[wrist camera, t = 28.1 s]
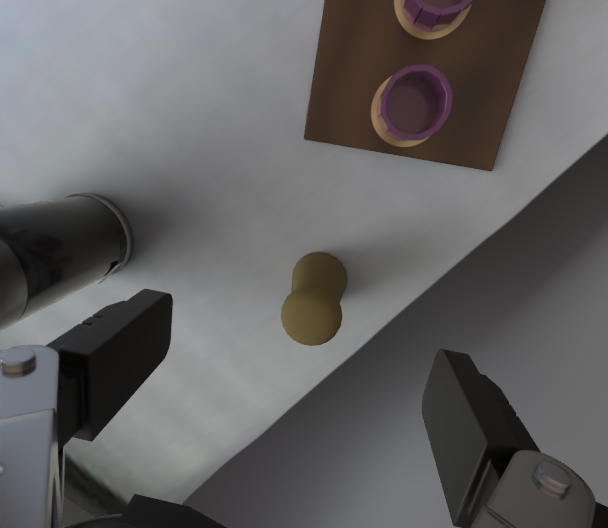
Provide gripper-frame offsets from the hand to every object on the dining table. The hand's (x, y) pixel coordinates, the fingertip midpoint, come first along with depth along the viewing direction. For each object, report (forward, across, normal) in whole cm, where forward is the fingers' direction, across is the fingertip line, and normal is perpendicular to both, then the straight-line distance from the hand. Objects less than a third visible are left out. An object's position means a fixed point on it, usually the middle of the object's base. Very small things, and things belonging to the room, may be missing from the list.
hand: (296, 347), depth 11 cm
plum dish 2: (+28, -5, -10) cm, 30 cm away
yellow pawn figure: (+28, 0, +8) cm, 29 cm away
